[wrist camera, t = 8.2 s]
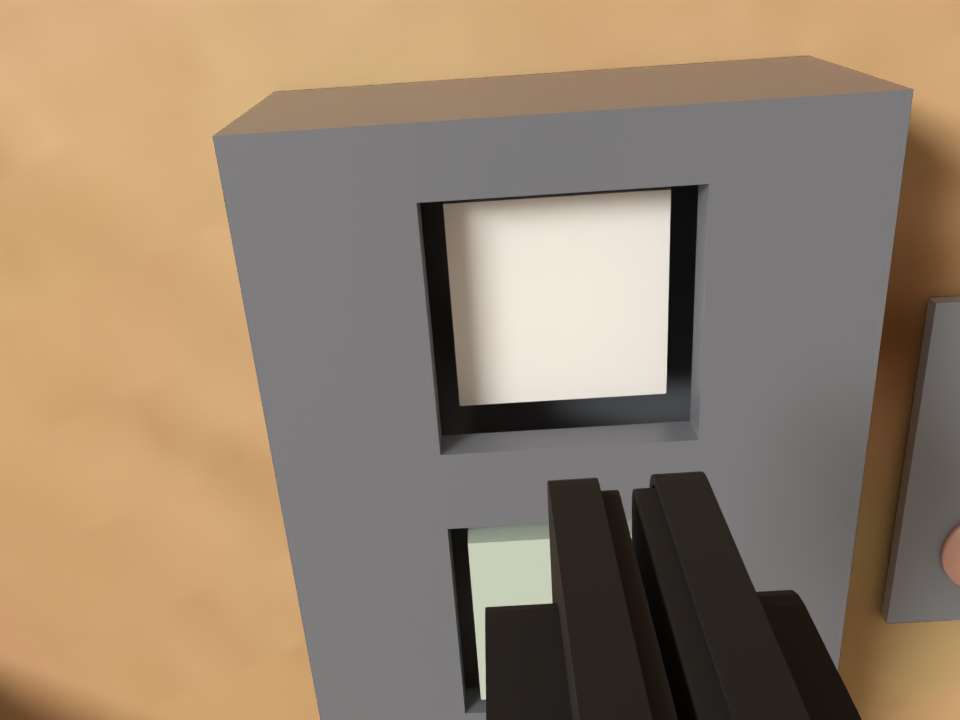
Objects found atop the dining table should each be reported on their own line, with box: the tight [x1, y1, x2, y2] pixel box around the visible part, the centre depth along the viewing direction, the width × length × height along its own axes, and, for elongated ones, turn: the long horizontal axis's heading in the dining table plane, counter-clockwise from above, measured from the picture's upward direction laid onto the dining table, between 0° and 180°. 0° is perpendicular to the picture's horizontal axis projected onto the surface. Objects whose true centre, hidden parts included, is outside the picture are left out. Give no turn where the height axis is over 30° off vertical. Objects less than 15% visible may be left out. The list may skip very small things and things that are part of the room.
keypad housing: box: [213, 56, 913, 720], centre depth 22 cm, size 22×12×5 cm, turn 4°
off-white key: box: [443, 187, 671, 406], centre depth 19 cm, size 4×4×2 cm
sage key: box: [468, 519, 632, 700], centre depth 21 cm, size 4×4×2 cm
